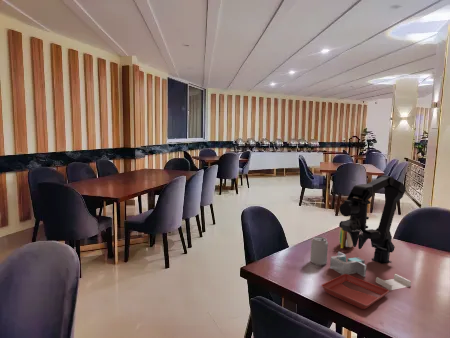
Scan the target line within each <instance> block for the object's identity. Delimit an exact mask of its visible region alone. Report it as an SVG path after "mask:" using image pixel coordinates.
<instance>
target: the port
mask: <svg viewBox="0 0 450 338" xmlns="http://www.w3.org/2000/svg"><path fill="white" fill-rule="evenodd" d="M329 269H330V270H334V271H335V272H336V273H339V274H340V275H343V274H348V275H352V274H357V275H359V276H361V277H363V278H366V277H367V276H366V274H367V264H365V263H364V264H363V263H361V262H357V261H349V262H347V255H346V254H345V253H343V252H341V251H337V255H333V256H330V262H329Z"/></svg>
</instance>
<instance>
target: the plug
mask: <svg viewBox="0 0 450 338" xmlns="http://www.w3.org/2000/svg"><path fill="white" fill-rule="evenodd" d="M349 261H357V262H361V263H363V264H365V259H363V258H361V257H359V256H357V257H350V258H349V257H348V258H347V260H346V262H349Z"/></svg>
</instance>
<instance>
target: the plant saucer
mask: <svg viewBox="0 0 450 338" xmlns="http://www.w3.org/2000/svg"><path fill="white" fill-rule="evenodd" d="M345 282H348V283H351V284H353V285H356V286H358V287H361V288H363V289H366V290H368V291H371V292H373V293H375V294H378V295H380V296H379V297H377V296H374V295H372V294H368V293H364V292H362V291H358V290H355V289H353V288H349V287H348V286H346V285H345V284H343V283H345ZM321 287H322V288H323V290H324V291H325V292H326V293H327V294H328V295H331V296H333V297H335V298H336V299H337V298H338V299H339V300H341V301H344V302H346V303H348V304H350V305H353V306H354V307H357V308H359V309H362V310H366V309H367V308H369V307H370V306H372V305H373V304H375V303H376V302H378V301H379V300H381V299H383V297H385V296H387V294H389V293H390V290H389V289H387V288H385V287H383V286H380V285H376V284H374V283H371V282H369V281H366V280H364V279H360V278H358V277H355V276H353V275H352V274H343V275H342V274H340V275H339V276H337V277H335V278H333V279H331V280H328V281H327V282H325V283H322V284H321Z"/></svg>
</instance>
